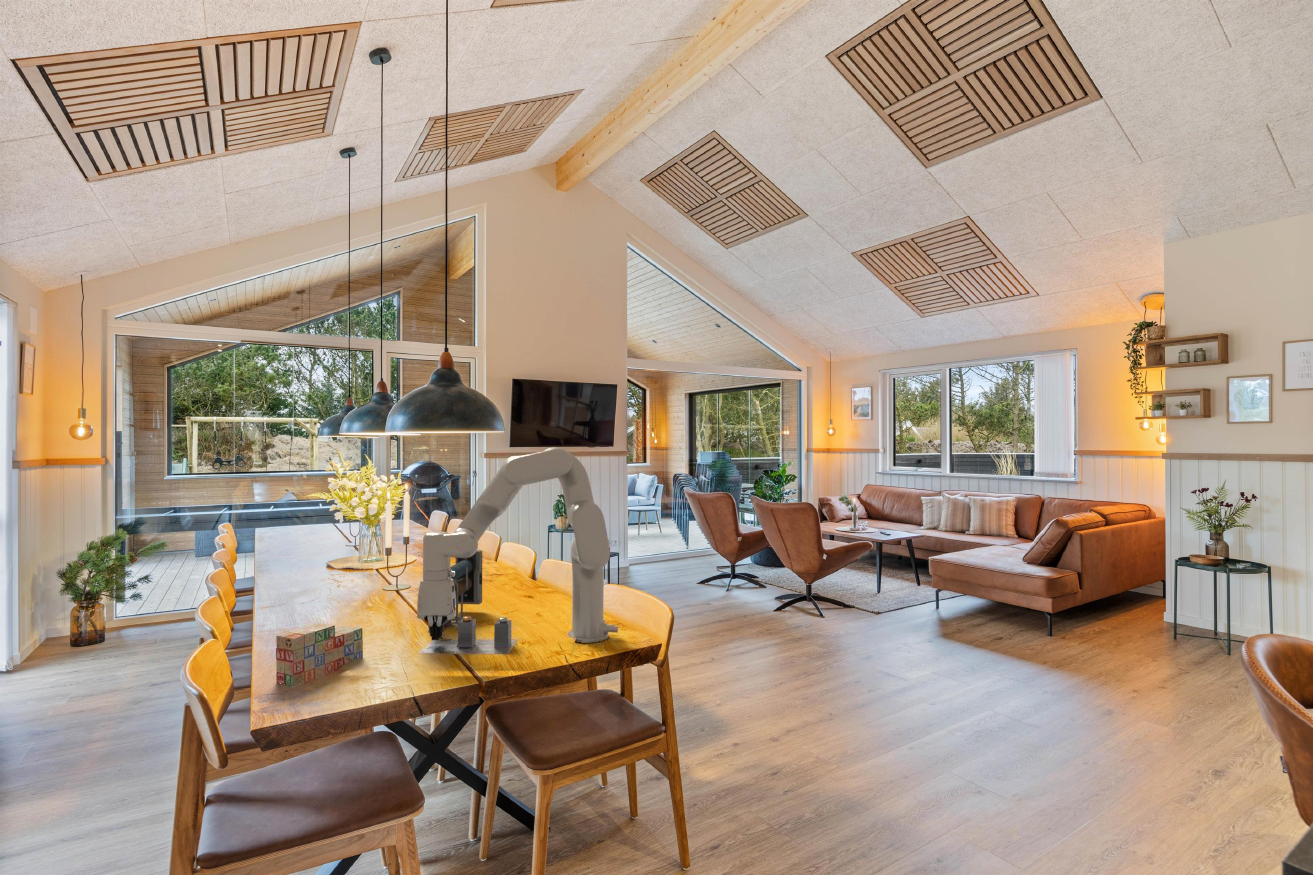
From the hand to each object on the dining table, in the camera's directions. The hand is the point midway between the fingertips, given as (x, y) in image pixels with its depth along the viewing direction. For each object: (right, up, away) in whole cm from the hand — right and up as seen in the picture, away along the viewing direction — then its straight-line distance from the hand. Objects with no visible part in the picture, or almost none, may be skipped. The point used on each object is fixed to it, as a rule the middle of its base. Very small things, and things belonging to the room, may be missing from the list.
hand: (436, 638), depth 196 cm
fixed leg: (+19, -2, 0) cm, 19 cm away
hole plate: (+10, -3, 0) cm, 10 cm away
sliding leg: (+9, -2, 0) cm, 9 cm away
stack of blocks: (-24, -4, -18) cm, 30 cm away
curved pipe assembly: (-4, -3, +27) cm, 28 cm away
